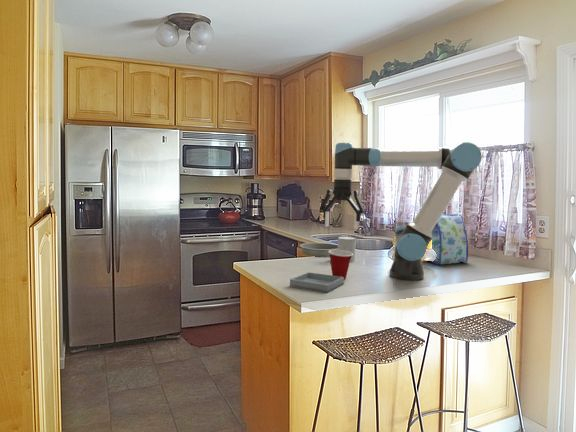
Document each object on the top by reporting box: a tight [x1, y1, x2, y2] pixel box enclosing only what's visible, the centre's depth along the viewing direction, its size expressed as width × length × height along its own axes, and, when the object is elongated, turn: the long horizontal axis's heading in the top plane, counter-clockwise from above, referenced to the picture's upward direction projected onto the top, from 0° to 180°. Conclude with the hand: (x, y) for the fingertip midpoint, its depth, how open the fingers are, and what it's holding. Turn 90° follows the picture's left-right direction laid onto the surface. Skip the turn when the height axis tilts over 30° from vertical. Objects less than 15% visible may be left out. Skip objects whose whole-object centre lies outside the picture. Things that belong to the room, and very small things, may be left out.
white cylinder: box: [337, 236, 357, 263], centre depth 239 cm, size 10×10×12 cm
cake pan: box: [299, 242, 338, 257], centre depth 261 cm, size 25×25×4 cm
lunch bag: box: [431, 213, 469, 265], centre depth 242 cm, size 22×17×26 cm
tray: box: [289, 271, 345, 294], centre depth 184 cm, size 17×17×3 cm
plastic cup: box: [329, 250, 353, 280], centre depth 197 cm, size 11×11×12 cm
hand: (341, 227), depth 196 cm, fingers open, 13 cm apart
